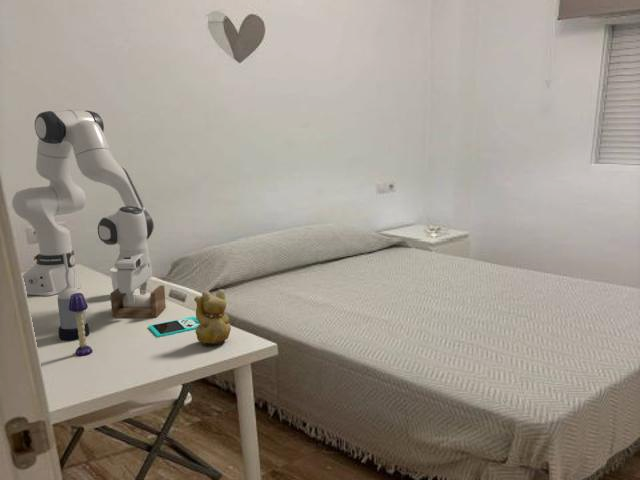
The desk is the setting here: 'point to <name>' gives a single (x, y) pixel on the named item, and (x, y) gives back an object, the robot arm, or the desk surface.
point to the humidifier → (68, 318)
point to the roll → (138, 302)
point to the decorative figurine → (212, 318)
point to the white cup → (114, 278)
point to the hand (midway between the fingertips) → (138, 298)
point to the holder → (154, 312)
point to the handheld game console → (174, 326)
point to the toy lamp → (80, 322)
